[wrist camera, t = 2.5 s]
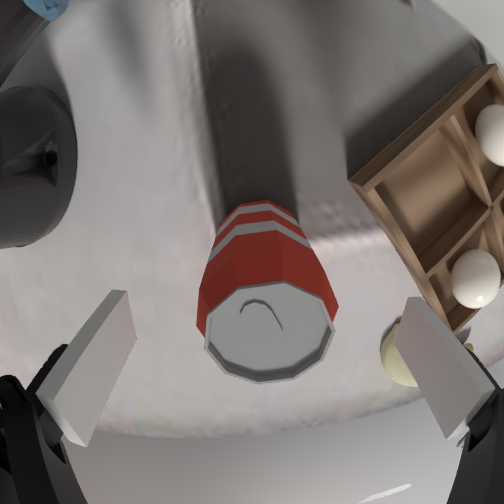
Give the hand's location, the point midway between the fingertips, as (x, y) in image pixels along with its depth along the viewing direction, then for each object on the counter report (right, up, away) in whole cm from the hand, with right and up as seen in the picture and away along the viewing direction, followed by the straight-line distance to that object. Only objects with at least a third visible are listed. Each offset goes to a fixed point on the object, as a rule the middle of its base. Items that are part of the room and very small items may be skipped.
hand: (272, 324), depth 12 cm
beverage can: (0, +4, +10) cm, 11 cm away
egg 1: (+21, +14, +5) cm, 26 cm away
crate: (+20, +8, +8) cm, 23 cm away
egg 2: (+20, +2, +10) cm, 23 cm away
